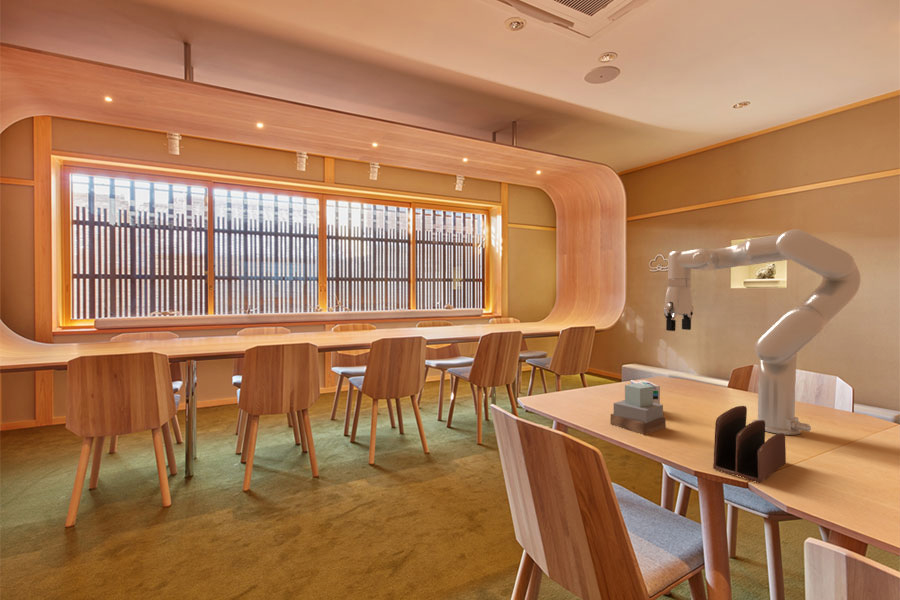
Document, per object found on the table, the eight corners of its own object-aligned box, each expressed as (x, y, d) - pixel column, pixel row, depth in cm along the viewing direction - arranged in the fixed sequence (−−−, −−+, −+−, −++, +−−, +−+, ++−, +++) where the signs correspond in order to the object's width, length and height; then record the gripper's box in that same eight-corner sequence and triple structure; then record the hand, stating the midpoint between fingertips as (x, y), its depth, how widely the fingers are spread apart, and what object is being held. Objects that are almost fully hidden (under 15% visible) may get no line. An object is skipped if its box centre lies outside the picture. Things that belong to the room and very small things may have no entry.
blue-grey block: (653, 404, 137) (652, 386, 137) (640, 407, 135) (639, 388, 135) (637, 400, 143) (637, 383, 143) (624, 402, 140) (624, 385, 140)
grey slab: (662, 416, 138) (662, 404, 138) (645, 423, 131) (646, 410, 131) (630, 409, 147) (631, 398, 147) (613, 415, 140) (613, 403, 140)
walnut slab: (665, 430, 137) (665, 417, 137) (643, 436, 131) (643, 423, 131) (632, 420, 147) (632, 409, 147) (610, 426, 141) (610, 414, 141)
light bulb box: (660, 415, 151) (660, 385, 151) (641, 415, 151) (641, 385, 151) (647, 407, 162) (647, 379, 162) (629, 407, 162) (629, 379, 162)
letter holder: (712, 470, 105) (713, 414, 105) (742, 451, 118) (743, 401, 117) (760, 484, 98) (761, 424, 97) (786, 463, 110) (787, 409, 109)
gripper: (682, 284, 164) (682, 328, 164) (655, 284, 155) (654, 330, 155) (702, 284, 157) (702, 329, 157) (675, 283, 148) (674, 332, 149)
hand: (678, 330), depth 156 cm, fingers open, 9 cm apart
